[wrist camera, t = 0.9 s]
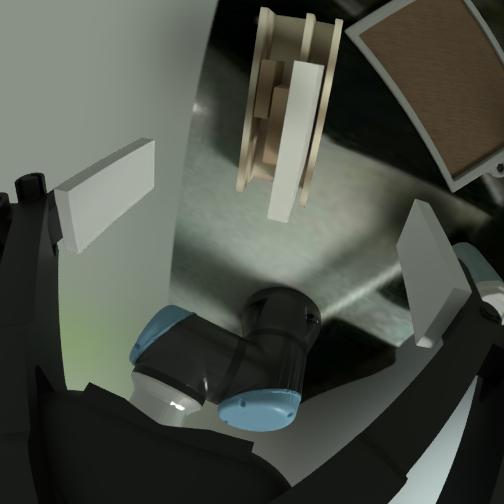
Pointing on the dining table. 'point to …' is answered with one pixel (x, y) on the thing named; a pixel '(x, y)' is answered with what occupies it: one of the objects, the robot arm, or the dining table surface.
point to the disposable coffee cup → (482, 276)
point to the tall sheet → (295, 137)
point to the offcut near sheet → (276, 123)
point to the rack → (287, 50)
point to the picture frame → (442, 80)
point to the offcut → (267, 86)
